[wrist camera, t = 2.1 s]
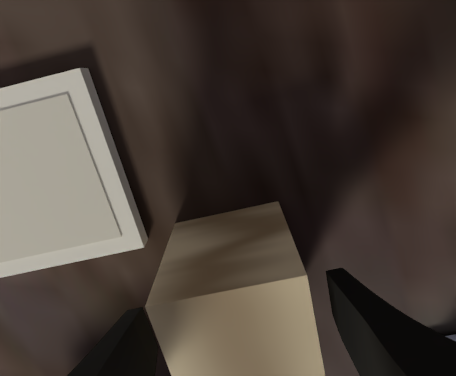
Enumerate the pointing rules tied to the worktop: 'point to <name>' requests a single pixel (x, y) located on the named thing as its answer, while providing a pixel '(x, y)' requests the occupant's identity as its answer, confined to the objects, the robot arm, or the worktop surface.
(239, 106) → the worktop surface
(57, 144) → the tray
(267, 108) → the worktop surface
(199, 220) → the maple block
